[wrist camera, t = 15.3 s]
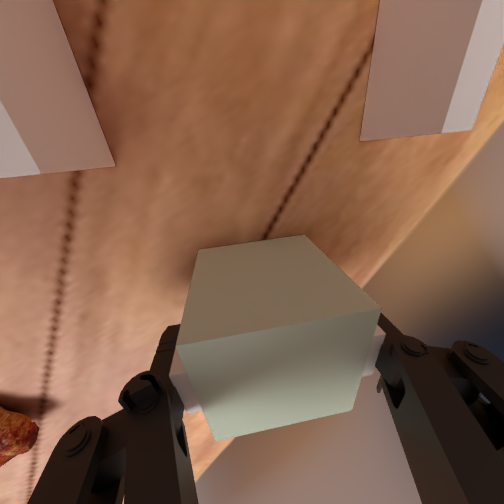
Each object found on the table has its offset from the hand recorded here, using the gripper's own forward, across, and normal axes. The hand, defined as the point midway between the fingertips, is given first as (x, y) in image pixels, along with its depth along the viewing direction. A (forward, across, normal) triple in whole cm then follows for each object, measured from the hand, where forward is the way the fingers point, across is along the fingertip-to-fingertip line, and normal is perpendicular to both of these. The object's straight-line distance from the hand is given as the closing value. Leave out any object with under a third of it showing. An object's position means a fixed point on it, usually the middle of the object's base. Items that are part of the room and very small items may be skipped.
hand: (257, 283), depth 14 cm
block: (0, 0, 0) cm, 1 cm away
